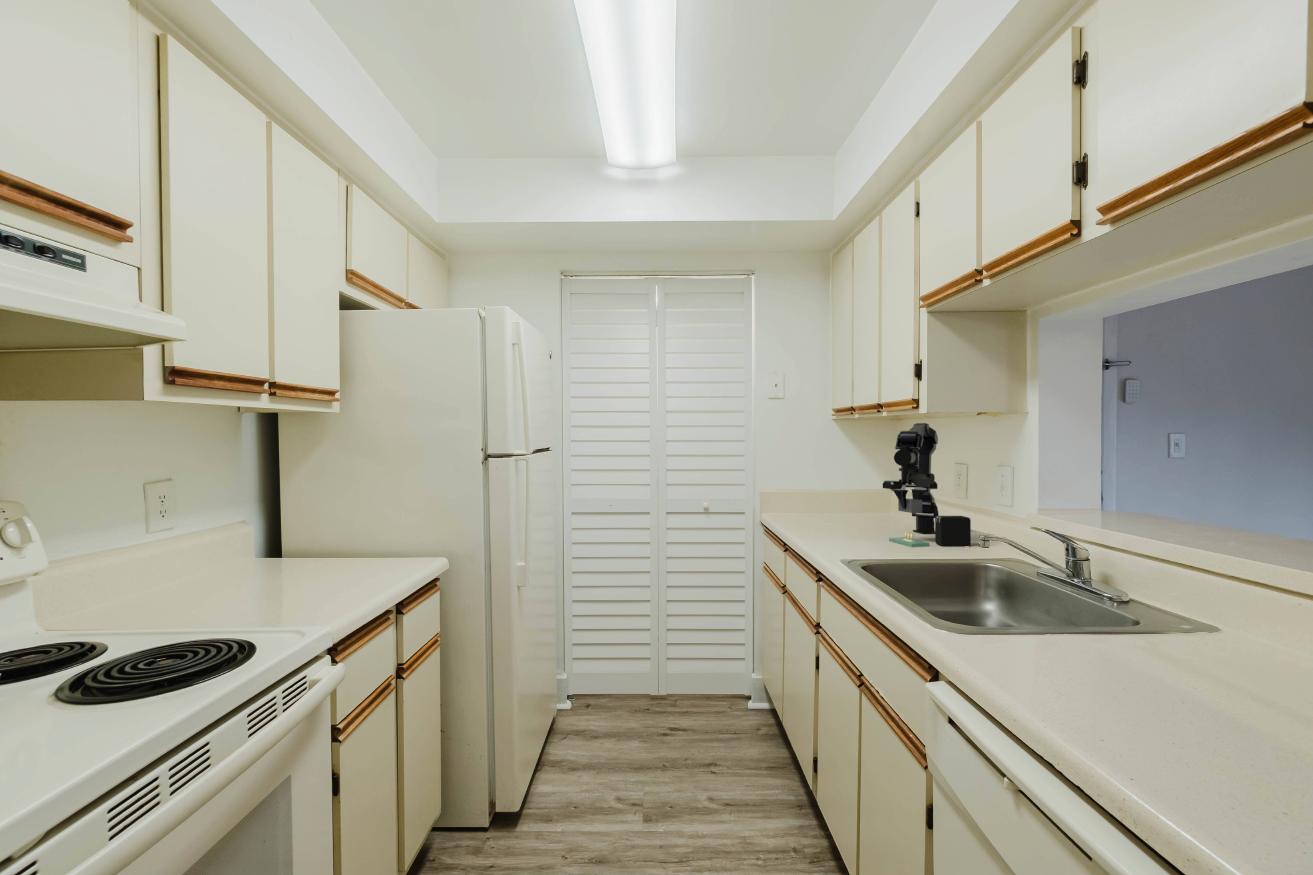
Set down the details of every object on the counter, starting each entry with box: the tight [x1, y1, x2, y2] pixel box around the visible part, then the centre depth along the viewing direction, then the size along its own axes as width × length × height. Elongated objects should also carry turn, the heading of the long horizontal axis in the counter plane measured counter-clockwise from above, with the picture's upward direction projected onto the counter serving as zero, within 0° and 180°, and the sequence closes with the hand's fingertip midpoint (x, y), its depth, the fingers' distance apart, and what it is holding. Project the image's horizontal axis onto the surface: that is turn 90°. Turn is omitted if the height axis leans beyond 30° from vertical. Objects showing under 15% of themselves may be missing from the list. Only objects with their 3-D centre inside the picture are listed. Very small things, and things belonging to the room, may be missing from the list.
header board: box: [888, 532, 930, 548], centre depth 190 cm, size 12×7×4 cm, turn 12°
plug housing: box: [897, 497, 923, 514], centre depth 194 cm, size 7×4×4 cm, turn 12°
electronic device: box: [934, 515, 972, 548], centre depth 185 cm, size 4×10×10 cm, turn 89°
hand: (910, 508), depth 194 cm, fingers closed on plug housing, 4 cm apart
